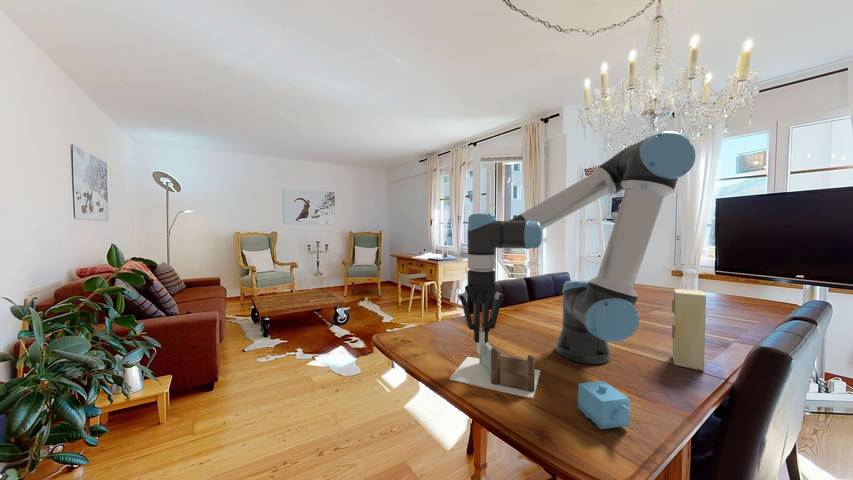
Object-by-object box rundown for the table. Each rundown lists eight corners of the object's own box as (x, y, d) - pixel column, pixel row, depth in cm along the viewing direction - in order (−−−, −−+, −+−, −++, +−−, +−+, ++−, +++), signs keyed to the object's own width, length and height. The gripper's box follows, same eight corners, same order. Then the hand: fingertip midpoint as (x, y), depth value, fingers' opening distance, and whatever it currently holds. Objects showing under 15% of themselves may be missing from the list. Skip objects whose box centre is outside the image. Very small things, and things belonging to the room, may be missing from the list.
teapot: (643, 441, 59) (644, 402, 58) (614, 446, 58) (615, 406, 57) (597, 405, 70) (598, 372, 70) (573, 408, 69) (573, 375, 69)
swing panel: (496, 377, 82) (496, 347, 81) (490, 378, 81) (490, 347, 81) (484, 360, 92) (484, 334, 91) (478, 361, 91) (478, 334, 91)
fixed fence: (535, 388, 77) (535, 354, 76) (533, 393, 75) (534, 358, 74) (492, 379, 81) (492, 347, 81) (489, 383, 79) (489, 350, 79)
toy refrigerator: (669, 355, 97) (671, 287, 96) (700, 361, 93) (703, 290, 92) (670, 364, 90) (672, 292, 89) (704, 371, 86) (706, 295, 85)
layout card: (540, 371, 86) (540, 369, 86) (533, 398, 73) (533, 396, 73) (467, 357, 96) (467, 356, 96) (449, 379, 82) (449, 377, 82)
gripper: (499, 267, 91) (499, 347, 92) (455, 268, 90) (455, 349, 91) (508, 271, 83) (507, 358, 84) (460, 271, 82) (460, 359, 83)
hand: (480, 353), depth 88 cm, fingers closed
